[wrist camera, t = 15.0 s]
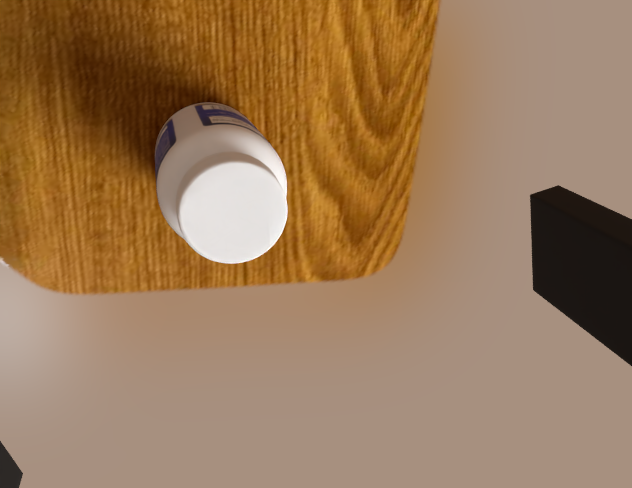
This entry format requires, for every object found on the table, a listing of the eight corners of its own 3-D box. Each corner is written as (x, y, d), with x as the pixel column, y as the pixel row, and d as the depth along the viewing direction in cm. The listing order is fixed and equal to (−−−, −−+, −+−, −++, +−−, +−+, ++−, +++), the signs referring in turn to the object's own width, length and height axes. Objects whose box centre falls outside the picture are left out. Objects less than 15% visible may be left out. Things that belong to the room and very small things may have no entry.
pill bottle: (195, 221, 28) (211, 306, 20) (132, 138, 26) (123, 198, 18) (280, 167, 28) (328, 230, 20) (225, 79, 26) (256, 112, 18)
